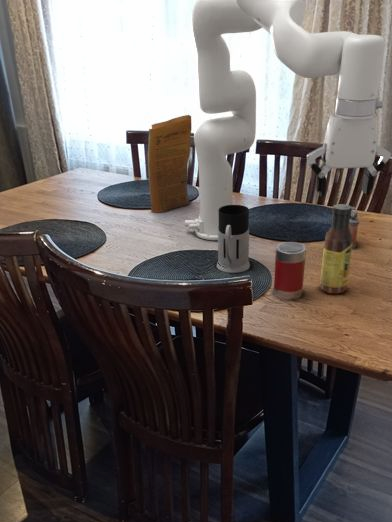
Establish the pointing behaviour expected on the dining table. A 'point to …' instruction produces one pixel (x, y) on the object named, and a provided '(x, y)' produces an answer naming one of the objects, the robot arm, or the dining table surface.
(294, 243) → the can
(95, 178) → the dining table surface
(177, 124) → the pancake mix bag
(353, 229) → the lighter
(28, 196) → the dining table surface
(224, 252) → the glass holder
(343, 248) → the sauce bottle
